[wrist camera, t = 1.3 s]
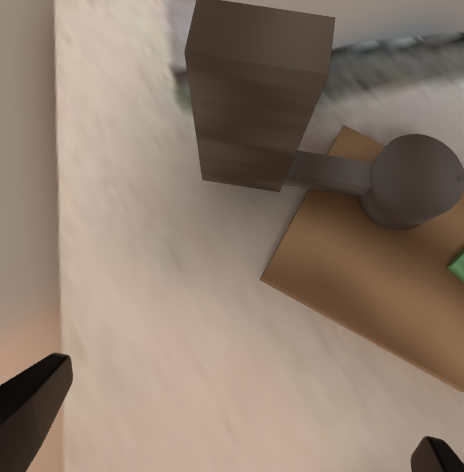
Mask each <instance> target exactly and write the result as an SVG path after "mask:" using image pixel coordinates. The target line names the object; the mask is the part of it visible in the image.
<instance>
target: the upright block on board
mask: <svg viewBox="0 0 464 472" xmlns="http://www.w3.org/2000/svg"><path fill="white" fill-rule="evenodd" d="M334 23H335V17H328V16H321V15H315V14H308V13H301V12H295V11H288V10H282V9H275V8H269V7H262V6H255V5H248V4H242V3H236V2H229V1H222V0H196V4H195V9H194V13H193V17H192V22H191V26H190V30H189V35H188V39H187V43H186V48H185V59H186V66H187V73H188V80H189V88H190V95H191V102H192V109H193V116H194V123H195V130H196V137H197V144H198V151H199V158H200V165H201V173H202V180H207V181H213V182H219V183H225V184H232V185H238V186H244V187H251V188H257V189H263V190H269V191H276V192H279V191H280V189H281V186H282V184H285V185H291V186H297V187H303V188H310V189H316V190H322V191H329V192H335V193H341V194H347V195H354V196H358V198H359V201H360V204H361V206H362V208H363V210H364V211H365V213H366V214H367V215H368V216H369V217H370V218H371V219H372V220H373V221H374V222H376V223H378V224H379V225H381V226H383V227H386V228H388V229H393V230H408V229H412V228H415V227H417V226H419V225H421V224H423V223H425V222H427V221H429V220H431V219H433V218H435V217H437V216H439V215H441V214H443V213H445V212H447V211H448V210H450V209H451V208H453V207H454V206H455V205H456V204H457V203H458V201H459V200H460V198H461V196H462V194H463V191H464V170H463V168H462V165H461V163H460V161H459V159H458V158H457V156H456V155H455V153H454V152H453V151H452V150H451V149H450V148H449V147H448V146H446V145H445V144H444V143H442V142H440V141H439V140H437V139H435V138H432V137H429V136H425V135H419V134H410V135H404V136H401V137H398V138H396V139H394V140H393V141H391V142H390V143H389V144H388V145H387V146H386V147H385V148H384V149H383V150H382V151H381V152H380V153H379V154H378V155H377V157H376V158H375V159H374V160H373V161H372V162H367V161H360V160H354V159H348V158H341V157H335V156H328V155H322V154H316V153H309V152H303V151H297V149H298V146H299V144H300V142H301V139H302V137H303V135H304V132H305V130H306V127H307V125H308V123H309V120H310V118H311V116H312V113H313V111H314V109H315V106H316V104H317V102H318V99H319V97H320V94H321V92H322V90H323V87H324V85H325V83H326V80H327V78H328V76H329V70H330V61H331V51H332V42H333V33H334Z"/></svg>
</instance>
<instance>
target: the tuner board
mask: <svg viewBox="0 0 464 472" xmlns="http://www.w3.org/2000/svg"><path fill="white" fill-rule="evenodd" d="M385 147H386V146H384V145H382V144H380V143H378V142H376V141H374V140H372V139H370V138H368V137H366V136H364V135H362V134H360V133H358V132H356V131H354V130H352V129H350V128H348V127H346V126H343V127H342V129H341V131H340V132H339V134H338V136H337V137H336V139H335V141H334V143H333V145H332V147H331V149H330V150H329V152H328V154H327V155H328V156H335V157H341V158H348V159H354V160H360V161H367V162H372V161H373V160H374V159H375V158H376V157H377V155H378V154H379V153H380V152H381V151H382V150H383V149H384V148H385ZM260 280H261V281H263V282H265V283H267V284H268V285H270V286H272V287H274V288H276V289H277V290H279V291H281V292H283V293H285V294H286V295H288V296H290V297H292V298H294V299H295V300H297V301H299V302H301V303H303V304H304V305H306V306H308V307H310V308H312V309H313V310H315V311H317V312H319V313H321V314H322V315H324V316H326V317H328V318H330V319H332V320H333V321H335V322H337V323H339V324H341V325H342V326H344V327H346V328H348V329H350V330H351V331H353V332H355V333H357V334H359V335H360V336H362V337H364V338H366V339H368V340H369V341H371V342H373V343H375V344H377V345H378V346H380V347H382V348H384V349H386V350H387V351H389V352H391V353H393V354H395V355H396V356H398V357H400V358H402V359H404V360H405V361H407V362H409V363H411V364H413V365H414V366H416V367H418V368H420V369H422V370H423V371H425V372H427V373H429V374H431V375H432V376H434V377H436V378H438V379H440V380H441V381H443V382H445V383H447V384H449V385H450V386H452V387H454V388H456V389H458V390H459V391H462V392H464V191H463V194H462V196H461V198H460V200H459V201H458V203H457V204H456V205H455V206H454V207H453V208H451V209H450V210H448V211H447V212H445V213H443V214H441V215H439V216H437V217H435V218H433V219H431V220H429V221H427V222H425V223H423V224H421V225H419V226H417V227H415V228H412V229H408V230H393V229H388V228H386V227H383V226H381V225H379V224H378V223H376V222H374V221H373V220H372V219H371V218H370V217H369V216H368V215H367V214H366V213H365V211H364V210H363V208H362V206H361V204H360V201H359V198H358V196H354V195H347V194H341V193H335V192H329V191H322V190H316V189H310V188H309V190H308V191H307V193H306V195H305V197H304V199H303V201H302V203H301V205H300V206H299V208H298V210H297V212H296V214H295V216H294V218H293V219H292V221H291V223H290V225H289V227H288V229H287V231H286V232H285V234H284V236H283V238H282V240H281V242H280V244H279V246H278V247H277V249H276V251H275V253H274V255H273V257H272V259H271V260H270V262H269V264H268V266H267V268H266V270H265V272H264V273H263V275H262V277H261V279H260Z"/></svg>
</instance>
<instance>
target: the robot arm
mask: <svg viewBox="0 0 464 472" xmlns="http://www.w3.org/2000/svg"><path fill="white" fill-rule="evenodd" d="M72 380H73V372H72V363H71V358H70V356H69V355H65V354H61V353H53V354H50V355H49V356H47V357H46V358H44V359H42V360H41V361H39V362H37V363H36V364H34V365H33V366H31V367H29V368H28V369H26V370H24V371H23V372H21V373H20V374H18V375H16V376H15V377H13V378H11V379H10V380H8V381H7V382H5V383H3V384H2V385H0V472H26V470H27V469H28V467H29V465H30V464H31V462H32V461H33V459H34V457H35V456H36V454H37V452H38V451H39V449H40V447H41V445H42V443H43V442H44V439H45V438H46V436H47V433H48V432H49V429H50V427H51V425H52V423H53V421H54V419H55V417H56V415H57V413H58V411H59V409H60V407H61V405H62V403H63V401H64V399H65V397H66V395H67V393H68V391H69V389H70V386H71V384H72ZM411 470H412V472H464V463H463V462H462V461H461V460H460V459H459V457H458V456H457V455H456V454H455V453H454V451H453V450H452V449H451V448H450V446H449V445H448V444H447V443H446V442H445V441H443V440H441V439H438V438H434V437H429V436H426V437H424V438H423V439H422V440H421V442H420V443H419V445H418V446H417V448H416V449H415V451H414V452H413V454H412V457H411Z"/></svg>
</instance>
